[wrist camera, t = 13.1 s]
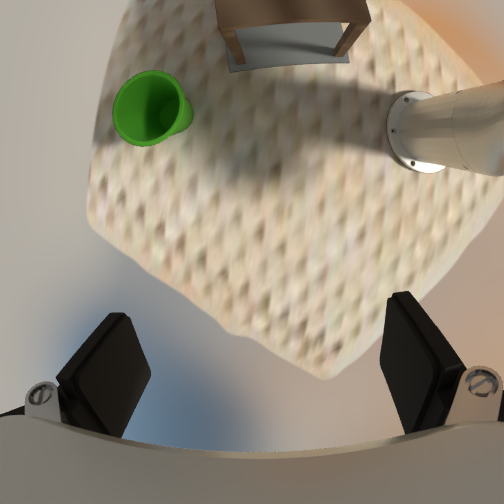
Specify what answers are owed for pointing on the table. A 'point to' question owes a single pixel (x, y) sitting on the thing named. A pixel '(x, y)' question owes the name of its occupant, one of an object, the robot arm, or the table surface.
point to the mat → (288, 45)
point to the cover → (290, 18)
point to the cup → (151, 109)
